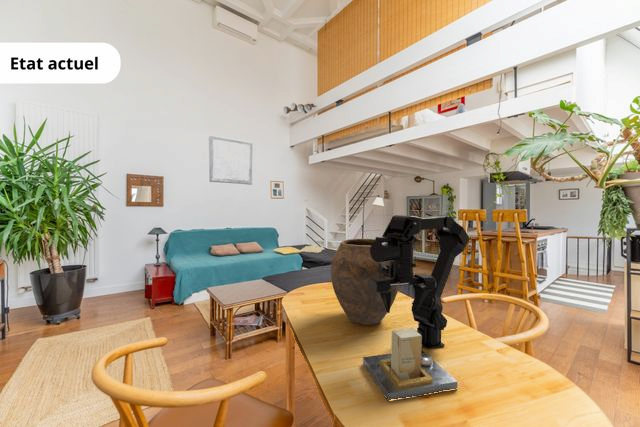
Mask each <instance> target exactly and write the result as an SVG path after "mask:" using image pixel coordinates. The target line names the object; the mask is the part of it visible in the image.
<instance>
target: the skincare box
mask: <svg viewBox="0 0 640 427" xmlns="http://www.w3.org/2000/svg"><path fill="white" fill-rule="evenodd" d="M421 343H422V335H420V334H419V333H418V332H417V330H415V329H414V328H412V327H411V328H402V329H395V330H392V331H391V345H390V346H391V348H390V349H391V350H390V351H391V370H392V371H393V373H394V374H395V375H396V376H397V378H398V379H399V380H400V381H403V380H409V379H415V378H420V377H421V350H422V345H421Z"/></svg>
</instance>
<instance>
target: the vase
mask: <svg viewBox="0 0 640 427" xmlns="http://www.w3.org/2000/svg"><path fill="white" fill-rule="evenodd" d="M374 242H375V238H349V239H348V238H347V239H344V240H342V241H341V242H340V243H339V245H338V248H337V249H336V251H335V252H334V255H333V256H332V260H331V265H330V266H331V267H330V277H331V285H332V289H333V292H334V294H335V297H336V299H337V301H338V303H339V305H340V307H341V308H342V311H343V312H344V313H345V315H346V317H347V318H348V320H349V321H350V322H352V323H353V324H357V325H363V326H364V325H365V326H375V325H378V324H380V323H381V322H382V321H383V320H384V318H385V317H386V316H387V314H388V313H387V312H386V309H385V306H384V303H383V300H382V297H381V295H380V293H379V292H377V291H375V290H374V289H373V288H371V287H370V286H369V281H370V279H371V277H381V276H382V277H384V278H386V279H388V280H390V279H393V278H390V277H389V276H388V277H385V276H384V274H379V270H378V267H379V264H380V263H386V265H387V266H388V265H390V262H391V261H384V262H376V261H374V260H373V259H372V257H371V254H370V248H371V245H372V244H373V243H374ZM397 283H399V282H397ZM399 288H400V286H391V288H390V290H389V291H390V292H391V305H390V309H391V307H392V306H393V304H394V303H395V300H396V297H397V294H398V292H399Z"/></svg>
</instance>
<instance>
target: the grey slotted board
mask: <svg viewBox="0 0 640 427" xmlns="http://www.w3.org/2000/svg"><path fill="white" fill-rule="evenodd" d="M362 365H363V367H364V368H365V369H366V371H367V370H368V371H367V373H368V374H369V373H370V374H369V375H370V377H371V376H372V377H371V379H372V380H373V379H374V380H373V382H374V383H375V382H376V383H377V384H376V383H375V384H376V386H377V385H378V386H379V387H380V389H381V390H382V392H383V393H384V395H385V396H386V397H387V399H388V400H391V399H398V398H406V397H412V396H419V395H424V394H429V393H434V392H439V391H443V390H450V389H456V388H457V389H458V381H457V379H455V378H454V377H453V376H452V375H450V373H448V372H447V371H446V370H445V369H444V368H443V367H442V366H441V365H439V364H438V363H437V362H436V361H435V360H434V359H433V357H432V355H430V354H428V353H426V352H424V350H422V349H421V377H420V378H415V379H409V380H403V381H400V380H399V379H398V378H397V376H396V375H395V374H394V373H393V371H392V370H391V353H386V354H385V353H384V354H378V355H369V356H364V357H362ZM378 386H377V387H378ZM379 387H378V388H379ZM380 389H379V390H380ZM381 390H380V391H381ZM382 392H381V393H382ZM383 393H382V394H383ZM384 395H383V396H384ZM385 396H384V397H385ZM419 397H420V396H419ZM387 399H386V400H387Z"/></svg>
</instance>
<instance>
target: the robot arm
mask: <svg viewBox="0 0 640 427" xmlns="http://www.w3.org/2000/svg"><path fill="white" fill-rule="evenodd" d="M434 229H436V230H435V235H436V236H437V237H438V241H437V242H438V243H437V245H438V248H439V253H438V256H437V258H436V260H435V263H434V266H433V269H432V271H431V273H430V274H427V273H415V274H414V268H416V267H417V264H416V262H414V243H415V244H416V243H419V239H418V238H417V237H415V235H418V234H420V233H421V232H422V231H427V230H434ZM374 239H375V242H374V243H373V244H372V245H371V248H370V254H371V257H372V259H373V260H374V261H376V262H384V261H391V262H390V265H388V266H387V265H386V263H380V264H379V267H378V270H379V274H384V276H385V277H388V276H389V277H390V278H393V279H390V280H388V279H386V278H384V277H382V276H381V277H371V279H370V281H369V286H370V287H371V288H373V289H374V290H375V291H377V292H379V293H380V295H381V297H382V300H383V303H384V306H385V309H386V312H387V314H390V311H391V308H390V305H391V292H390V291H389V290H390V288H391V286H399V287H401V286H413V288H414V298H413V301H412V302H411V305H412V306H411V313H412V318H413V320H414V321H415V322H417V325H418V327H417V329H416V331H417V332H418V333H419V334H420V335H422V343H421V346H423V348H424V349H427V350H429V349H436V348H442V347H445V344H444V343H443V342H442V331H444V330H445V328H447V325H448V324H447V323H448V320H447V318H446V317H445V315H444V314H443V308H444V306H443V304H442V302H443V301H442V295H443V292H444V289H445V288H446V284H447V281H448V278H449V276H450V273H451V270H452V268H453V265H454V262H455V260H456V258H457V257H458V256H459V255H461V254H462V253H463V252H464V251H465V249H466V247H467V245H468V244H469V242H470V237H469V234H468V233H467V231H466V230H465V228H464V227H463V226H462V225H460V224H459V223H458V222H456V221H455V220H454V218H453V217H452V216H451V215H446V214H437V215H431V216H430V215H429V216H420V217H419V216H416V215H415V216H414V215H402V214H401V215H399V214H395V215H393V216H391V219H390V221H389V222H388V225H387V226H386V227H385V231H384V232H383V234H382V235H381V236H376V237H375V238H374ZM397 282H399V283H397Z"/></svg>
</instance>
